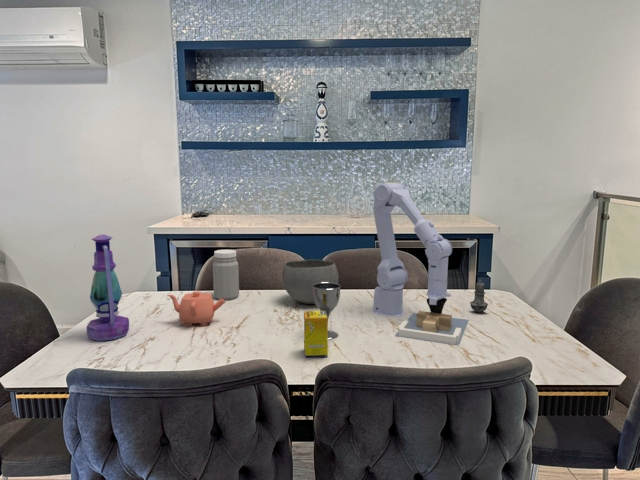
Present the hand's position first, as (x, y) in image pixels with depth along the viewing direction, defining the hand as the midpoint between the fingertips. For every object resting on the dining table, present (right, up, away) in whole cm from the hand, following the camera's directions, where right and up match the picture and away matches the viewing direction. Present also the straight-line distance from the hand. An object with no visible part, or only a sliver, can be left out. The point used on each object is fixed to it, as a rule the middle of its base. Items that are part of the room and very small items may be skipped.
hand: (435, 321), depth 141 cm
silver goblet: (-34, -3, -8) cm, 35 cm away
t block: (-3, -2, -6) cm, 7 cm away
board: (-1, -2, -3) cm, 4 cm away
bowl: (-40, +2, +26) cm, 48 cm away
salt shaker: (+18, 0, +12) cm, 22 cm away
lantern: (-98, -3, -8) cm, 99 cm away
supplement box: (-37, -5, -21) cm, 43 cm away
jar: (-72, +3, +32) cm, 79 cm away
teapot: (-75, -1, +3) cm, 76 cm away
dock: (-4, -2, -9) cm, 11 cm away
